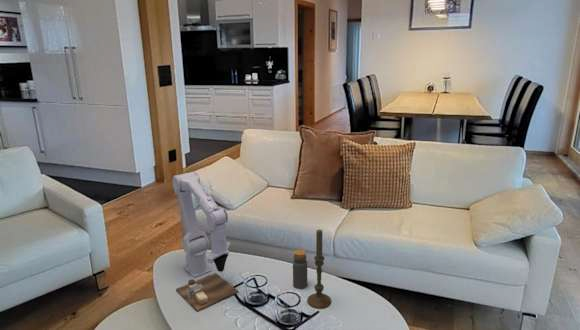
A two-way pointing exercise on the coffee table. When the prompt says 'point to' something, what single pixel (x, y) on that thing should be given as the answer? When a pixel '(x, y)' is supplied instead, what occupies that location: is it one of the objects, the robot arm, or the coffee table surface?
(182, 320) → the coffee table surface
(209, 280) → the board
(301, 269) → the bottle
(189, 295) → the keeper
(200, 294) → the link
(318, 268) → the candlestick holder
